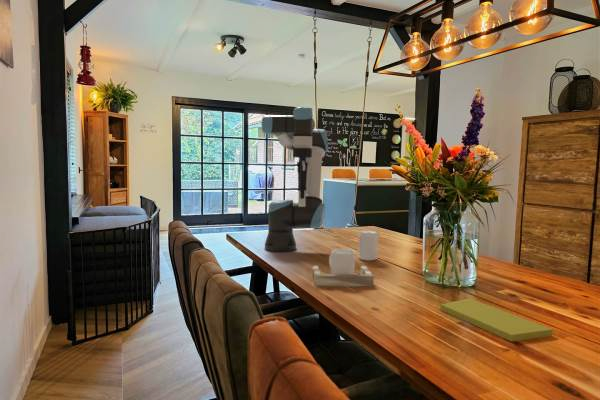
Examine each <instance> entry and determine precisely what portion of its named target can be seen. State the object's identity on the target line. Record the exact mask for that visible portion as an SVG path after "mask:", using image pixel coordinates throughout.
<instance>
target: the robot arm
mask: <svg viewBox="0 0 600 400" xmlns="http://www.w3.org/2000/svg"><path fill="white" fill-rule="evenodd" d="M313 115H314V114H313V109H312V108H311V107H306V106H305V107H301V106H299V107H295V108H293V115H272V114H270V115H264V116H262V119H261V130H262V133H263V134H267V135H271V134H272V135H274V137H276V138H277V139H278V142H279V145H281V146H282V147H283V148H285V149H287V150H290V151H292V157H293V158H298V161H297V162H296V166H297V191H298V197H297V198H298V202H294V200H293V199H282V200H276V201H271V202H270V203H269V204H268V211H267V213H268V232H267V236H266V239H265V243H264V249H265V250H266V251H269V252H278V253H279V252H281V253H282V252H291V251H295V250H297V242H296V239H295V236H294V232H293V231H294V229H293V228H300V229H301V228H303V229H304V228H305V229H306V228H307V229H319V228H321V227H322V226H323V223H324V220H325V215H326V213H325V212H326V204H325V203H323V199H322V198H320V195H321V181H322V180H321V178H322V164H323V163H322V161H323V157H325V155H326V153H327V152H329V143H328V133H327V130H326V129H322V128H316V123H315V120H314V118H313V117H314V116H313Z"/></svg>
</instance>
